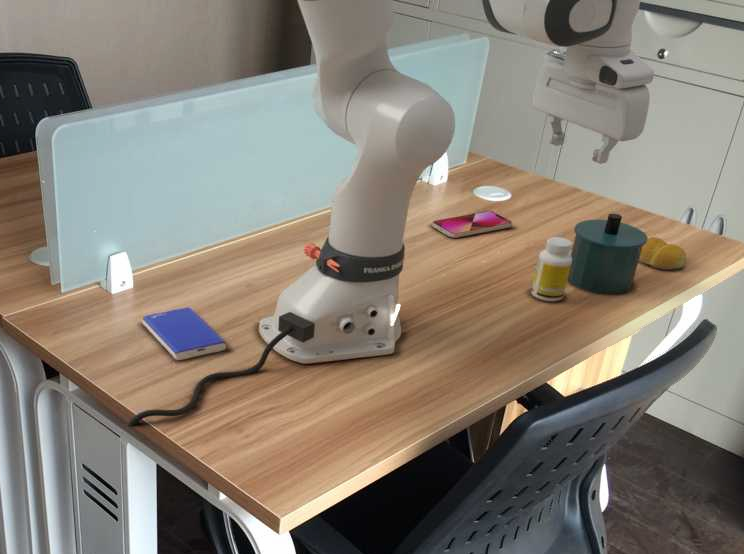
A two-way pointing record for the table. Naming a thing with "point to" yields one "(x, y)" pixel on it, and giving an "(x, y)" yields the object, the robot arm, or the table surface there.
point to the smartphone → (471, 224)
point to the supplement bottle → (552, 270)
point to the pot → (602, 267)
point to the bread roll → (662, 254)
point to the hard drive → (183, 333)
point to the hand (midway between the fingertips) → (577, 152)
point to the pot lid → (611, 233)
